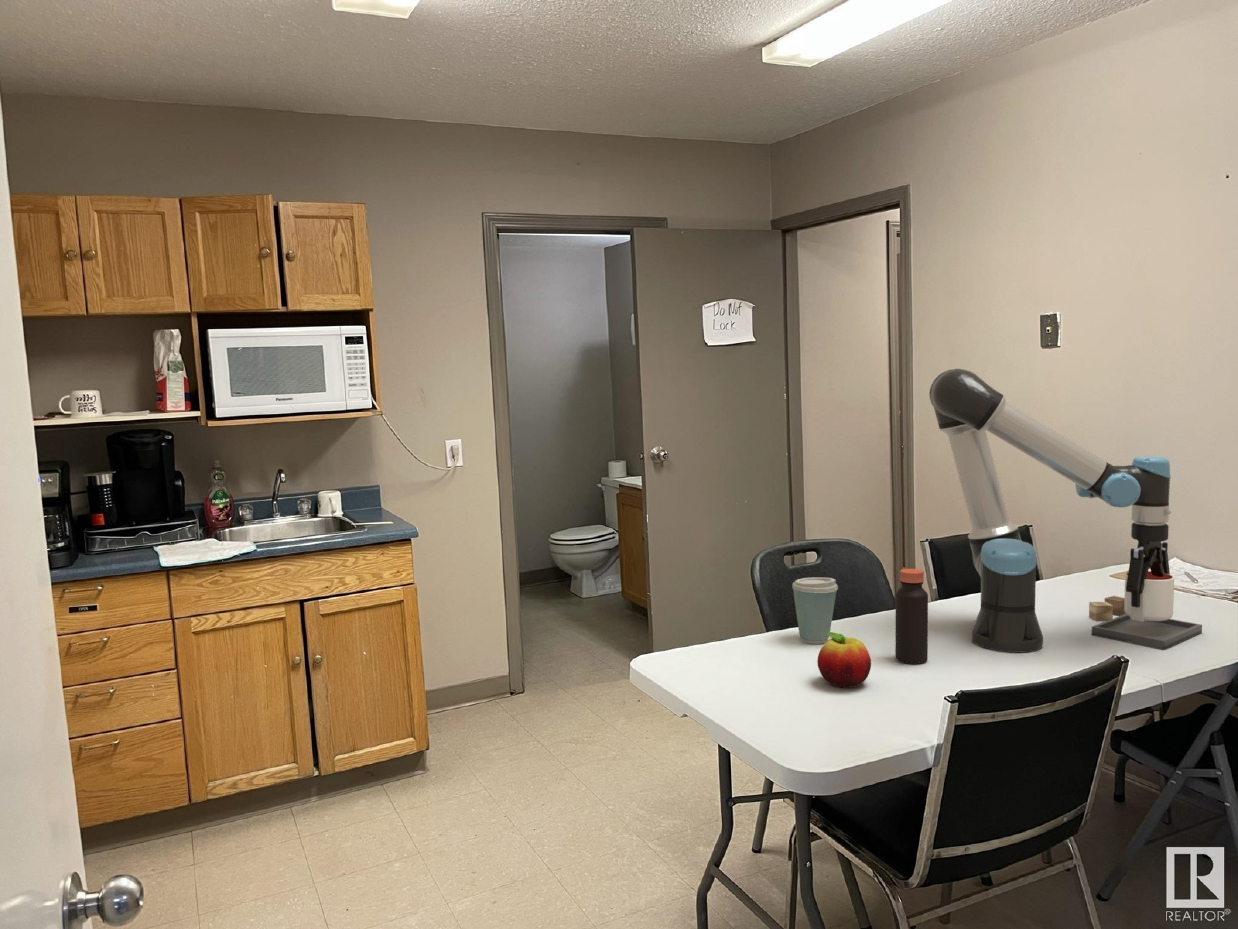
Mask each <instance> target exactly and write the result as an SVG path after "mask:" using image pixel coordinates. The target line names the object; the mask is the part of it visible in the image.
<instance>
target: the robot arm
mask: <svg viewBox="0 0 1238 929" xmlns="http://www.w3.org/2000/svg"><path fill="white" fill-rule="evenodd" d="M928 395H929V400H930V404H931V405H932V408H933V409H934V414H935V418H936V421H937V425H938V428H939V431H941V432H943V433H944V434H946V435H947V437H948V441H949V445H950V448H951V452H952V456H953V459H954V463H955V467H956V472H957V474H958V479H959V482H960V487H961V489H962V490H961V491H962V493H963V498H964V500H965V504H966V505H965V506H966V508H967V513H968V516H969V520H970V524H971V527H972V528H971V530H970V532H969V534H968V535H967V539H968V542H969V546H970V549H971V553H972V554H971V555H972V563H973V566H974V568H975V570H976V571H977V573H978V575H979V577H980V609H979V612H978V614H977V617H976V620H975V622H974V625H973V628H972V632H971V635H972V636H971V639H972V642H973V643H974V644H975V645H977V646H978V647H979V646H980V647H982V648H985V649H989V650H992V651H993V650H994V651H998V652H1005V653H1006V652H1008V653H1009V652H1010V653H1028V652H1033V651H1038V650H1041V649H1042V648H1043V647H1044V636H1043V633H1042V630H1041V627H1040V626H1041V625H1040V623H1039V621H1038V616H1037V614H1036V586H1037V585H1036V583H1037V581H1036V580H1037V578H1036V577H1037V576H1036V575H1037V564H1038V558H1037V552H1036V549H1035V547H1034V546H1033V544H1031V543H1029V542H1027V541H1023V540H1022V538H1021V535H1020V530H1019V526H1018V525H1017V524H1015V523H1013V522H1012V521H1010V518H1009V515H1008V511H1007V508H1006V502H1005V499H1004V495H1003V491H1002V489H1001V484H1000V481H999V477H998V473H997V470H996V466H995V460H994V457H993V454H992V451H991V447H990V443H989V440H988V439H989V438H988V435H987V432H989V433H991V434H992V435H994V436H995V437H997V438H999V439H1001V440H1002V441H1004V442H1005V443H1006V444H1009V445H1010V446H1012V447H1014V448H1016V449H1017V450H1019V451H1021V452H1022V453H1024V454H1026V455H1027V456H1028V457H1031V458H1033V459H1034V460H1036V461H1037V462H1039V463H1040V464H1042V465H1044V466H1045V467H1047V468H1049V469H1051V470H1052V471H1053V472H1055V473H1057V474H1059V475H1061V476H1062V477H1064V478H1066V479H1068V480H1069V481H1070V482H1072V483H1075V490H1076V494H1077V495H1078V496H1079V497H1080V498H1089V499H1095V498H1098V499H1100V500H1102V501H1103V502H1104V503H1106V504H1108V505H1109V506H1110V507H1114V508H1128V507H1130V506H1131V517H1130V518H1131V521H1133V522H1132V523H1131V535H1130V536H1131V539H1133V540H1137V548H1130V554H1129V555H1130V560H1129V566H1128V571H1127V572H1128V578H1127V584H1126V591H1127V592H1131V613H1130V619H1131V620H1137V621H1142V622H1143V621H1144V602H1145V593H1142V592H1143V589H1144V583H1145V579H1146V578H1147V574H1148V571H1151V573H1152V575H1154V576H1157V577H1163V573H1165V574H1169V575H1171V573H1170V565H1169V563H1170V562H1169V556H1168V549H1169V548H1168V547H1169V544H1168V542H1166V541H1168V539H1169V530H1170V529H1169V528H1170V527H1169V525H1168V524H1167V523H1168V522H1169V520H1170V519H1169V517H1170V516H1169V515H1170V514H1171V513H1172V512H1171V510H1170V503H1169V502H1170V488H1171V487H1170V484H1171V465H1170V460H1169V459H1168V458H1166V457H1164V456H1156V455H1153V456H1149V455H1148V456H1147V455H1144V456H1135V457H1134V458H1133V459H1132V463H1131V465H1130V464H1128V465H1113V464H1111V463H1109V462H1107V461H1106V460H1105V459H1102V458H1101V457H1099V456H1098V455H1096V454H1095V453H1093V452H1091V451H1090V450H1087V449H1086V448H1084V447H1082V446H1081V445H1079V444H1077V443H1075V441H1072V440H1071V439H1069V438H1067V437H1065V435H1062V434H1061V433H1059V432H1058V431H1056V430H1054V429H1052V428H1050V427H1049V426H1048V425H1046V424H1044V423H1042V422H1040V421H1039V420H1037V419H1035V418H1034V417H1032V416H1030V415H1028V414H1027V413H1026V412H1024V411H1022V410H1020V409H1019V408H1017V407H1015V406H1013V405H1012V404H1010V403H1009V402H1007V401H1006V396H1005V395H1004V394H1003V393H1000V392H999V391H998V390H996V389H995V388H993V387H992V386H990V385H989V384H987V382H986V381H984V380H983V379H982V378H981V377H980V376H978V375H977V374H976V373H974V372H973V371H971V370H970V371H969V370H967V369H963V368H962V369H961V368H953V369H947V370H945V371H943V372H941V373H939V374H938V375H937V376H936V377H935V378H934V379H933V381H932V383H931V386H930V389H929V394H928ZM1149 569H1150V570H1149Z"/></svg>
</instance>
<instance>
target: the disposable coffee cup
mask: <svg viewBox="0 0 1238 929" xmlns="http://www.w3.org/2000/svg"><path fill="white" fill-rule="evenodd" d="M791 587H792V590H793V591H792V592H793V599H794V606H795V613H796V620H797V626H798V634H799V637H800V640H801V642H803V643H806V644H814V645H816V644H817V645H820V644H825V643H826V642H827V641H829V638H830V636H828V635H827V633H828V632H831V629H832V628H831V627H832V621H833V615H834V609H835V603H836V597H837V596H836V594H837V590H839V586H838V584H837V583H836V579H834V578H832V577H819V576H818V577H816V576H815V577H814V576H813V577H803V578H798V579H796V580H794V582H792V586H791Z"/></svg>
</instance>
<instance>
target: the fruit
mask: <svg viewBox="0 0 1238 929" xmlns="http://www.w3.org/2000/svg"><path fill="white" fill-rule="evenodd" d="M827 635H828V636H829V638H830V639H828V641H827V642H826V643H823V645H822V646H821V648H820V650H819V651H818V652H819V653H818V656H817V661H816V662H817V668H818V670H819V673H820V675H821V676H822V678H823V679H824V681H826V682H827V683H828V684H829V685H831V686H833V687H836V688H837V687H838V688H846V689H847V688H855V687H858V686H860V685H861V684H862V683H864V682H865V681H866V680H867V678H868V676H869V675H870V671H871V669H872V659H871V655H870V653H869V651H868V648H867V647H866V645H865V643H864V642H862V641H861V640H860V639H858V638H856V637H845V635H844V634H842V633H838V632H834V631H830V632H828V633H827Z"/></svg>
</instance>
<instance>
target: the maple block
mask: <svg viewBox="0 0 1238 929" xmlns="http://www.w3.org/2000/svg"><path fill="white" fill-rule="evenodd" d="M1088 604H1089V605H1088V606H1089V607H1088V617H1089V619H1092V620H1093V621H1095V622H1106V621H1108V620H1111V619H1113V618H1114V615H1113V606H1112V605H1111V604H1109V603H1107V602H1105V601H1089V602H1088Z"/></svg>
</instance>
